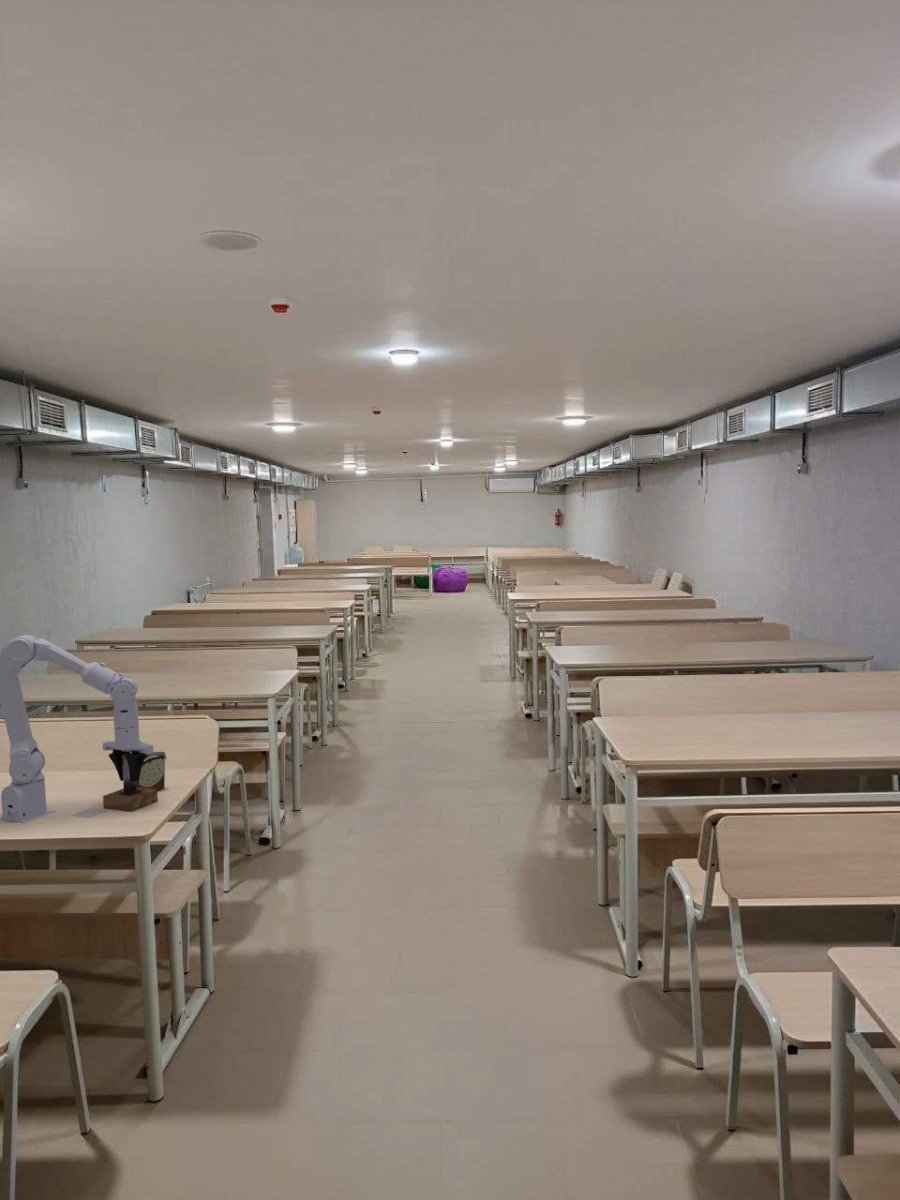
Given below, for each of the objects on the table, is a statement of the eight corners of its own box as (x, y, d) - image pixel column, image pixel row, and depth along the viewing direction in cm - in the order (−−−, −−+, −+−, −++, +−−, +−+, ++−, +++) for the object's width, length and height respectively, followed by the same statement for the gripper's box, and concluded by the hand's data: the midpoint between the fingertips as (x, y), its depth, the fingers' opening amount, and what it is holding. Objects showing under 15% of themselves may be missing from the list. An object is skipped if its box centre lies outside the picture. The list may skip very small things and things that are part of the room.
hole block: (131, 813, 215) (131, 799, 215) (103, 809, 219) (102, 795, 219) (157, 802, 223) (157, 789, 223) (130, 799, 227) (129, 786, 227)
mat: (89, 819, 211) (89, 817, 211) (70, 816, 214) (70, 815, 214) (108, 811, 217) (108, 810, 217) (90, 809, 219) (89, 808, 219)
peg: (130, 792, 219) (127, 756, 218) (121, 791, 220) (118, 755, 219) (139, 789, 221) (136, 753, 221) (130, 788, 223) (127, 752, 222)
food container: (149, 786, 239) (147, 750, 238) (168, 788, 237) (166, 751, 236) (117, 799, 227) (115, 761, 227) (137, 801, 225) (135, 762, 225)
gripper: (160, 724, 220) (163, 778, 221) (116, 721, 226) (119, 773, 227) (140, 730, 214) (143, 785, 215) (95, 727, 220) (98, 781, 221)
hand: (129, 780), depth 221 cm, fingers closed on peg, 3 cm apart
